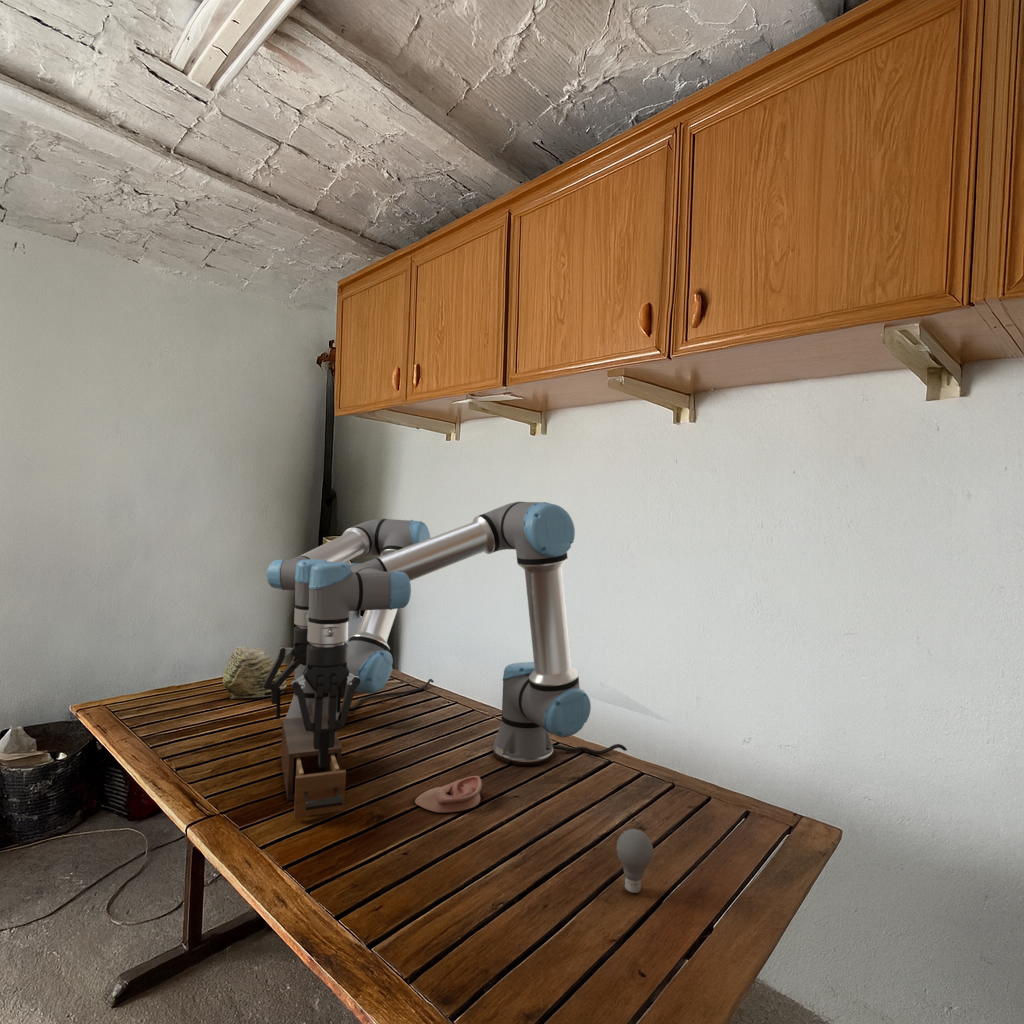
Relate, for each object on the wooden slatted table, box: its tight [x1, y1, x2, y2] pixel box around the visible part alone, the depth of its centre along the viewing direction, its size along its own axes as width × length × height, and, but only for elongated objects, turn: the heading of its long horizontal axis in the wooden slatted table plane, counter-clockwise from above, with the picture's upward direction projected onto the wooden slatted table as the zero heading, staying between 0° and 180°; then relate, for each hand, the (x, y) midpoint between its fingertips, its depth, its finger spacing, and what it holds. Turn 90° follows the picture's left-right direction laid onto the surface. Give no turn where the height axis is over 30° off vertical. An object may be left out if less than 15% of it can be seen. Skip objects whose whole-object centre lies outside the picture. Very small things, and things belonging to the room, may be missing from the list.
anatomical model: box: [414, 775, 483, 814], centre depth 134 cm, size 13×4×12 cm
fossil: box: [222, 646, 288, 699], centre depth 198 cm, size 9×18×15 cm, turn 132°
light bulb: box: [615, 828, 654, 894], centre depth 106 cm, size 6×6×10 cm
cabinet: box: [280, 715, 343, 801], centre depth 143 cm, size 22×11×10 cm, turn 23°
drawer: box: [293, 753, 347, 819], centre depth 131 cm, size 26×10×8 cm, turn 23°
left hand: (308, 714), depth 150 cm, fingers open, 13 cm apart
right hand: (323, 764), depth 122 cm, fingers closed
